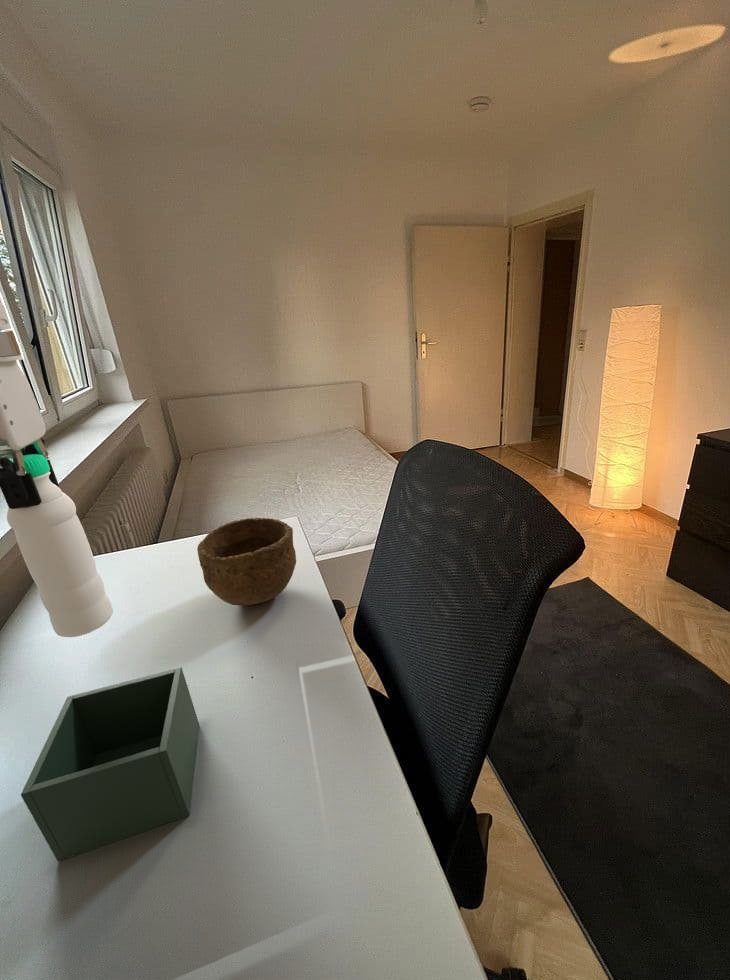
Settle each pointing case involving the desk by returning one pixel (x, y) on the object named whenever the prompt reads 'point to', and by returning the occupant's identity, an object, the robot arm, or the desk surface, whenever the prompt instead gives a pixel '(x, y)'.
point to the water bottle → (59, 556)
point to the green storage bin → (115, 764)
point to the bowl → (248, 560)
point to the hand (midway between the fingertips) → (35, 496)
